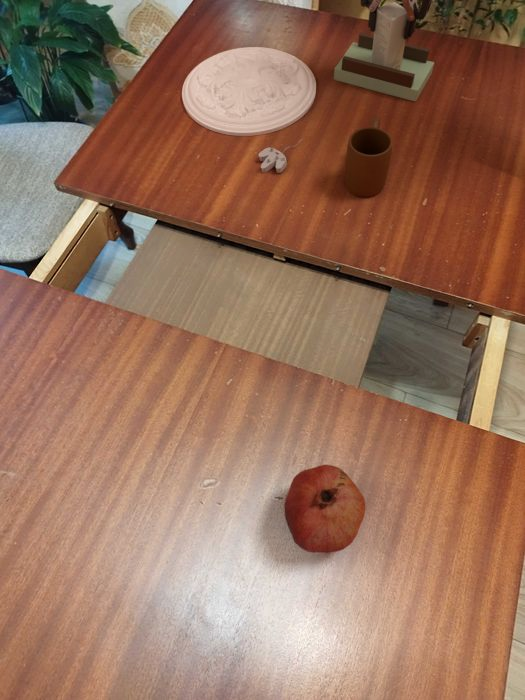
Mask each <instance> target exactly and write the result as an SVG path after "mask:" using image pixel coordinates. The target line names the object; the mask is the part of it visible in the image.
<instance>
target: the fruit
mask: <svg viewBox="0 0 525 700" xmlns="http://www.w3.org/2000/svg"><path fill="white" fill-rule="evenodd" d="M283 506H284V507H283V510H284V511H283V512H284V519H285V520H286V524H287V527H288V529H289V532H290V534H291V537H292V540H293V542H294V543H295V544H296V546H298V547H299V548H300V549H301V550H304V551H306V552H308V553H324V554H328V553H335V552H340V551H342V550H345V549H346V548H348V547H349V546H350V545H351V544H352V543H353V542H354V540H355V539H356V537H357V536H358V533H359V530H360V526H361V524H362V522H363V521H364V517H365V514H366V513H365V512H366V500H365V497H364V495H363V493H362V492H361V491H360V489H359V487H358V486H357V485H356V484H355V482H354V481H353V480H352V479H351V477H350V476H349V475H348V474H347V473H346V472H345V471H344V470H343V469H342V468H340V467H338V466H335V465H331V464H321V465H318V466H315V467H312V468H308V469H303V470H302V471H300V472H298V473H297V474H296V475H295V476H294V477H293V479H292V481H291V483H290V486H289V489H288V492H287V494H286V495H285V499H284V505H283Z"/></svg>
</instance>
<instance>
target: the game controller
mask: <svg viewBox="0 0 525 700" xmlns="http://www.w3.org/2000/svg"><path fill="white" fill-rule="evenodd" d="M306 139H307V138H305V137H304V138H302V139H300V140H299V141H298V142H297V144H299V143H300V142H301V141H302V140H304V141H306ZM297 144H295V145H294V146H293V148H295V147H297ZM288 148H292V146H291V145H290V146H288V147H286V148H284V150H283V152H285V151H286V150H287V149H288ZM283 152H281V151H280V150H278V149H277V148H274V147H266V148H264V149H263V150H261V151H260V152H259V153H258V158H259V161H260V162H262V163H261V164H260V169H261V172H262V173H267V172H268V171H270V170H271V169H273V168H274V167H275V170H276V173H278V174H281V173H283V171H284V170H286V169H285V168H287V166H288V162H287V157H286V155H285V154H284V153H283Z"/></svg>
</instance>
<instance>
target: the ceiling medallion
mask: <svg viewBox="0 0 525 700" xmlns="http://www.w3.org/2000/svg"><path fill="white" fill-rule="evenodd" d="M316 95H317V82H316V77H315V75H314V73H313V72H312V70H311V68H310V67H309V66H308V65H307V64H306V63H305V62H303V60H301V59H300V58H298V57H297V56H294V55H293V54H290V53H288V52H285V51H283V50H280V49H275V48H270V47H263V46H246V47H245V46H244V47H237V48H232V49H228V50H224V51H221V52H219V53H216V54H214V55H212V56H210V57H208V58H206V59H205V60H203V61H201V62H200V63H199V64H197V65H196V66H195V67H194V68H193V69H192V70H191V71H190V72H189V73H188V75H187V76H186V78H185V80H184V82H183V85H182V88H181V98H182V103H183V106H184V109H185V112H186V113H187V114H188V115H189V117H190V118H191V119H192V120H193V121H195V123H197V124H198V125H200V126H202V127H203V128H204V129H205V128H206V129H207V130H210V131H211V132H215V133H219V134H222V135H227V136H235V137H253V136H255V137H256V136H262V135H266V134H270V133H274V132H277V131H281V130H283V129H285V128H287V127H289V126H291V125H292V124H294V123H296V122H298V120H300V119H301V118H303V116H305V115H306V113H307V112H309V110H310V109H311V107H312V106H313V104H314V101H315V99H316Z"/></svg>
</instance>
